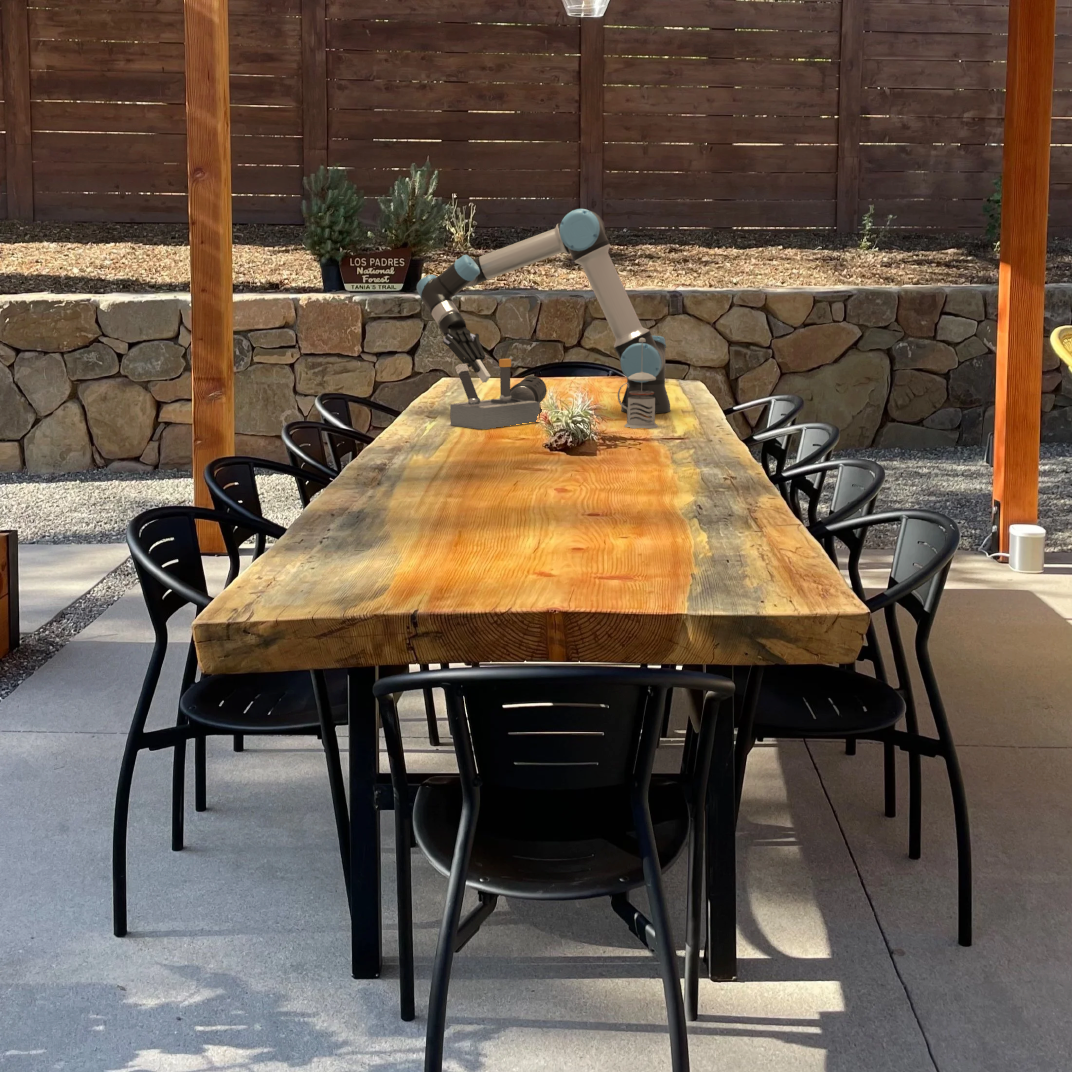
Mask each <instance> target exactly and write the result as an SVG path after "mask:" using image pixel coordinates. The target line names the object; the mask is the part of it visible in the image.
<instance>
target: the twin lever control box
mask: <svg viewBox="0 0 1072 1072" xmlns="http://www.w3.org/2000/svg"><path fill="white" fill-rule="evenodd" d="M467 365H468V364H467V363H466V364H463V363H459V364H457V365H456V366H454V368H455V371H456V373H457V375H458V377H459V379H460V382H461V384H462V386H463V389H464V392H465V394H466V397H467V401H463V402H455V403H450V404H449V405H450V411H449V412H450V416H449V417H450V426H453V427H460V428H466V427H467V428H469V429H473V428H474V429H475V430H480V429H486V430H491V429H490V428H494V429H497V428H496V427H501V428H504V427H503V426H509V427H511V426H510V425H516V424H522V423H529V422H536V420H537V416H538V414H539V413H541V412H540V411H541V408H540V407H541V402H536V401H527V400H520V399H513V398H511V400H510V401H505V400H500V397H499V398H491V399H483V400H482V399H480V397H478V394H477V391H476V387H475V386H474V383H473V380H472V377H471V375H470V373H469V371H470V370H469V367H468V366H467ZM474 429H473V430H474Z"/></svg>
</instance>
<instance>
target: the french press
mask: <svg viewBox="0 0 1072 1072" xmlns="http://www.w3.org/2000/svg"><path fill="white" fill-rule="evenodd" d="M639 342H642V348H643V342H646V340H645V338H640V339H639ZM628 380H634V381H641V391H630V392H629V393H630V394H631V395H652V394H654V392H653V391H642V381H653V380H656V378H655V377H654V376H653V375H651V374H648V373H644V372H642V370H641V372H640V373H635V374H633V375H631V376H629V377H628ZM625 385H626V388H627V387H628V388H629V383H628V382H627V381H626V382H625V383H623V384H622V385H621V386H620V387H619V389H618V392H617V400H618V403H619V406H622V405H623V404H622V400H621V399H620V398H621V396H620V392H621V389H622V388H623V387H624V386H625ZM633 403H634V404H633ZM621 404H622V405H621ZM639 404H640V405H644V406H646V407H648V408H650V409H646V408H644V407H641V406H638V405H639ZM623 406H624V405H623ZM623 406H622V407H623ZM651 406H652V407H651ZM624 408H625V406H624ZM625 409H627V412H626V423H625V424H624V425H623V427H624V426H625V427H624V428H627V427H630V428H629V429H636V428H646V429H645V430H647V428H648V429H656V428H659V425H658V424H657V423H656V422H655V421H656V413H655V397H650V396H633V397H628V408H627V407H626V408H625ZM636 409H642V410H645V411H647V412H649V413H651V414H647V413H645V412H643V411H640V410H636ZM633 412H634V413H633Z"/></svg>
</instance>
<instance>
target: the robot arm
mask: <svg viewBox="0 0 1072 1072" xmlns="http://www.w3.org/2000/svg"><path fill="white" fill-rule="evenodd" d="M605 230H606V229H605V223H604V221H603V219H602V217H601V216H600V215H599V214H597V213H596V212H595V211H593V210H588V209H585V208H576V209H573V210H571V211H570V212H567V214H565V216H564V217H563V218H562V219H561V222H559V223H557V224H556V226H555V228H552V229H549V230H547V231H545V232H542V233H539V234H536V235H533V236H531V237H528V238H526V239H522V240H521V241H517V242H515V243H512V244H509V245H507V246H504V247H501V248H499V249H497V250H494V251H490V252H489V253H486V254H483V255H481V256H478V257H475V258H472V257H471V256H469V255H468V254H464V255H461V256H460V257H459V258H457V259H456V260H454V261H455V262H453V263H452V264H451V265H449V266H448V267H447V268H446V269H445V270H444V271H443V272H441V273H440V274H439V275H434V274H427V275H426V276H424V277H422V278H421V279H420V280H419V281H418V282H417V284H416V291H417V293H418V295H419V297H420V300H421V301H422V302H423V304H424V305H425V307H426V308H427V311H429V313H430V315H431V316H432V318H433V319H434V322H435V323H436V324H437V326H438V328H439V329H440V330H441V333H442V334H443V335H444V336H445V337H444V338H443V340H442V343H443V344H444V345H445V346H446V347H448V348H449V349H450V350H451V351H452V353H453V354H454V355H455V356H456V357H457V358H458V359H459V361H461V364H467V367H468V368H472V370H473V372H475V374H477V376H478V378H479V379H480V381H481V382H482V383H487V382H488V381H489V379H490V378H491V374H490V373H489V371H488V370H487V366H486V365H485V363H484V362H483V361H484V360H485V359H486V357H487V356H486V354H485V352H484V349H483V346H482V344H481V341H480V334H479V333H475V334H473V333H471V331H470V330H469V329H468V328H467V322H466V321H465V319H464V317H463V316H462V314H461V313H460V310H458V308H457V306H456V304H455V303H454V302H453V300H452V298H453V297H454V296H455V295H457V294H458V293H459V292H460V291H462V290H463V289H464V288H465V287H467V288H469V287H470V288H471V287H474V286H477V285H479V284H481V283H483V282H486V281H488V280H490V279H494V278H496V277H500V276H502V275H505V274H507V273H510V272H513V271H515V270H519V269H522V268H524V267H526V266H527V267H528V266H530V265H533V264H535V263H538V262H540V261H543V260H545V259H548V258H551V257H554V256H557V255H559V254H563V253H565V254H566V255H569V254H570V256H571V259H572V260H573V262H574V263H575V264H578V265H580V266H581V267H582V269H583V271H584V274H585V277H587V280H588V283H589V284H590V287H591V289H592V291H593V292H594V295H595V297H596V299H597V301H598V304H599V306H600V308H601V311H602V312H603V315H604V318H605V319H606V321H607V324H608V326H609V328H610V330H611V332H612V334H613V336H614V339H615V342H614V344H613V349H614V351H615V353H616V354H617V357H618V359H619V361H620V369H621V371H622V373H623V374H624V376H626V383H627V382H628V383H629V388H628V387H627V386H626V387H625V388H626V389H625V391H624V394H623V397H622V400H621V403H622V404H623V405H624V406H625V408H626V407H627V408H628V397H633V396H650V397H655V414H663V413H665V414H666V413H669V412H671V403H670V398H669V395H668V391H667V389H666V383H665V382H666V349H667V345H666V339H665V337H664V336H661V335H652V333H651V330H650V329H648V328H646V327H643V325H642V324H641V321H640V319H639V316H638V315H637V313H636V311H635V308H634V306H633V304H632V302H631V300H630V297H629V296H628V293H627V291H626V289H625V287H624V284H623V282H622V280H621V278H620V275H619V274H618V271H617V269H616V267H615V265H614V262H613V261H612V260H613V259H612V258H611V255H610V254H609V251H610V247H611V244H610V242H609V239H608V237H607V235H606V231H605ZM640 338H645V340H646V342H643V348H642V342H639V339H640ZM641 370H642V372H644V373H648V374H651V375H653V376H654V377H655V378H656V380H653V381H642V391H653V392H654V394H652V395H631V394H630V393H629V392H630V391H641V381H634V380H628V377H629V376H631V375H633V374H635V373H640V372H641ZM622 404H621V405H622ZM633 404H634V403H633ZM621 405H620V406H621ZM623 405H622V406H623ZM622 406H621V407H620V408H621V409H620V410H621V412H623V413H627V409H625V408H624V406H623V407H622ZM638 406H641V407H644V408H646V409H650V408H648V407H646V406H644V405H640V404H639V405H638ZM651 407H652V406H651ZM636 410H640V411H643V412H645V413H647V414H651V413H649V412H647V411H645V410H642V409H636ZM633 413H634V412H633Z"/></svg>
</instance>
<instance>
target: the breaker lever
mask: <svg viewBox="0 0 1072 1072" xmlns="http://www.w3.org/2000/svg"><path fill="white" fill-rule="evenodd" d="M498 365H499V366H498V367H499V369H500V370H499V371H500V372H499V376H500V380H499V381H500V389H499V390H500V396H499V398H500V400H505V401H510V400H511V395H510V389H511V367H512V359H511V358H500V359H499V360H498Z"/></svg>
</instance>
